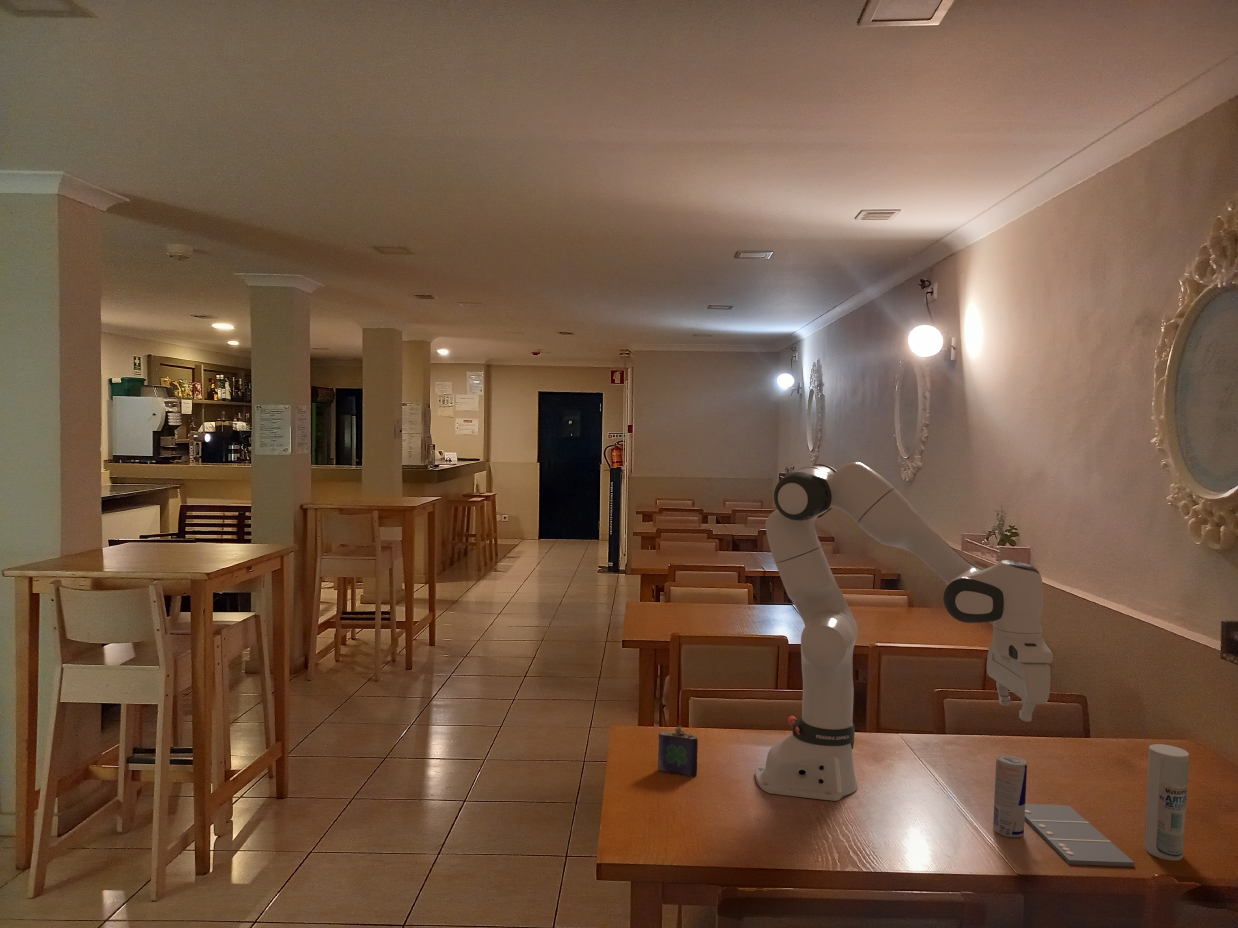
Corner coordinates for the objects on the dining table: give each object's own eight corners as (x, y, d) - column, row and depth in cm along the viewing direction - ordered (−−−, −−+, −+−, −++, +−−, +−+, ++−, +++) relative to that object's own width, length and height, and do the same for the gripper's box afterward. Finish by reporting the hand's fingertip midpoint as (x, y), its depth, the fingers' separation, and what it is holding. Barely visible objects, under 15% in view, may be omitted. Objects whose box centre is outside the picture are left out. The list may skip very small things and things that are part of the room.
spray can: (1166, 843, 168) (1171, 743, 167) (1192, 860, 161) (1197, 756, 160) (1135, 844, 167) (1141, 743, 166) (1160, 861, 160) (1166, 756, 160)
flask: (656, 772, 196) (657, 726, 196) (659, 767, 199) (661, 722, 198) (695, 778, 193) (697, 731, 193) (698, 773, 196) (700, 727, 195)
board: (1068, 863, 158) (1069, 859, 158) (1012, 806, 182) (1012, 802, 182) (1134, 866, 158) (1134, 861, 158) (1068, 808, 182) (1069, 804, 182)
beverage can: (1027, 840, 167) (1030, 765, 167) (996, 837, 168) (1000, 762, 168) (1019, 827, 173) (1023, 754, 172) (990, 824, 174) (993, 752, 173)
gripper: (979, 630, 179) (977, 695, 180) (1023, 656, 159) (1021, 729, 160) (1010, 631, 179) (1007, 696, 180) (1057, 656, 159) (1055, 730, 159)
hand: (1014, 712), depth 169 cm, fingers open, 8 cm apart
